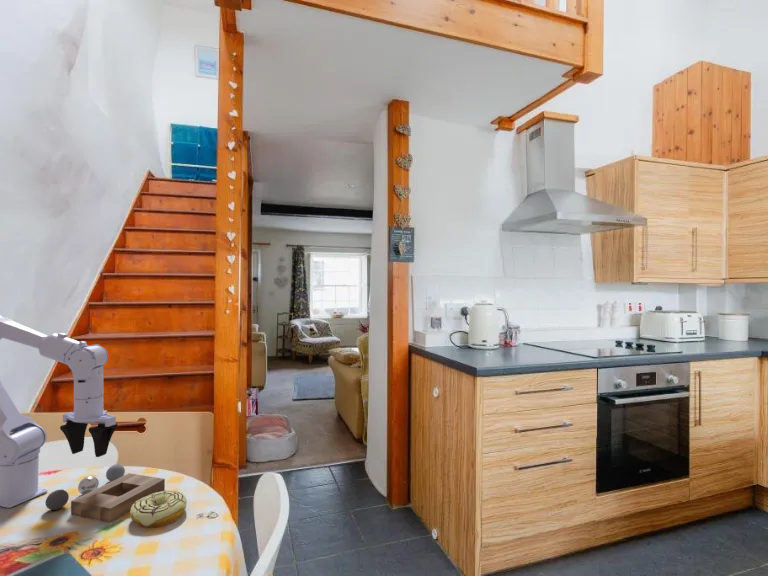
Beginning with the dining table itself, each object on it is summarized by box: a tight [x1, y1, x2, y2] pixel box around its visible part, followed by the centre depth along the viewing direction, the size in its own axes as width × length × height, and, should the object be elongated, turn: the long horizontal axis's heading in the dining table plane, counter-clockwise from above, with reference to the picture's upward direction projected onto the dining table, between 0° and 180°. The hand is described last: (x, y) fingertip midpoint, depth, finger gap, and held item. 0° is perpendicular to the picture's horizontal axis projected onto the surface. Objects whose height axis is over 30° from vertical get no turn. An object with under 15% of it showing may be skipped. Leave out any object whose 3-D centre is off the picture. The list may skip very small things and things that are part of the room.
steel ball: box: [77, 475, 100, 495], centre depth 95 cm, size 4×4×4 cm
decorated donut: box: [129, 490, 188, 529], centre depth 86 cm, size 10×11×4 cm
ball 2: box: [105, 463, 126, 482], centre depth 102 cm, size 4×4×4 cm
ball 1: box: [44, 489, 70, 511], centre depth 88 cm, size 4×4×4 cm
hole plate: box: [70, 472, 166, 524], centre depth 91 cm, size 11×14×3 cm
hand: (89, 453), depth 95 cm, fingers open, 7 cm apart
